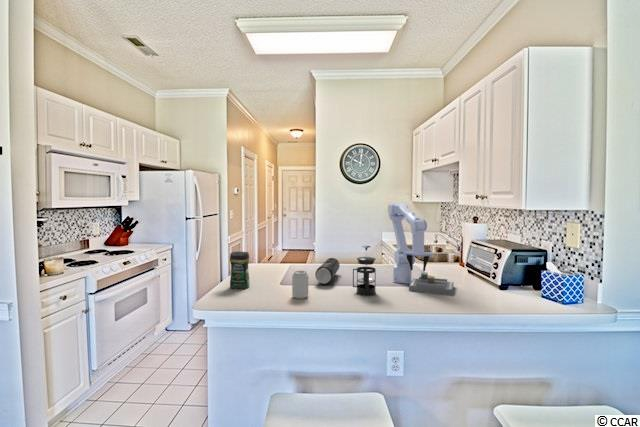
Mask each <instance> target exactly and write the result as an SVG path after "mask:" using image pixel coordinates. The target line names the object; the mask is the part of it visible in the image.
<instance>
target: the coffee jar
mask: <svg viewBox="0 0 640 427" xmlns="http://www.w3.org/2000/svg"><path fill="white" fill-rule="evenodd" d="M229 262H230V278H229V280H230V281H229V287H230V288H231V289H233V288H236V289H237V290H245V289H248V288H249V287H250V282H251V281H250V275H249V262H250V254H249V252H248V251H232V252H231V253H230V254H229ZM244 288H245V289H244Z"/></svg>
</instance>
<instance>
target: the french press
mask: <svg viewBox="0 0 640 427" xmlns="http://www.w3.org/2000/svg"><path fill="white" fill-rule="evenodd" d="M361 247H362V248H365V249H364V250H365V256H360V257H356V260H357V264H360V265H365V266H359V267H357V268H353V269H352V288H356V292H355V293H356V294H357V295H359V296H363V295H365V296H364V297H370V296H375V295H376V293H377V292H376V285H375V284H372V283H376V280H377V279H376V268H375V267H372V266H370V265H373V264H374V263H375V261H376V260H377V258H376V257H371V256H368V252H367V251H368V248H371V246H370V245H362V246H361ZM367 265H368V266H367ZM354 271H356V285H354V284H355V278H354V277H355V276H354V275H355V272H354ZM358 273H360V274H363V277H360V278H358V275H359V274H358ZM370 274H374V278H372V277H371V278H370ZM358 283H360V284H358Z"/></svg>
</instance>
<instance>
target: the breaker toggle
mask: <svg viewBox="0 0 640 427" xmlns="http://www.w3.org/2000/svg"><path fill="white" fill-rule="evenodd" d="M435 278H436V277H435V275H428V283H432V284H435Z"/></svg>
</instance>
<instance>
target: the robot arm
mask: <svg viewBox="0 0 640 427" xmlns="http://www.w3.org/2000/svg"><path fill="white" fill-rule="evenodd" d="M387 213H388V217H389V220H391V222H392V227H393V231H394V232H393V233H394V238H395V241H396V246H397V249H396V250H395V251H394V262H395V264H394V265H393V276H392V277H393V278H392V283H399V284H409V285H410V283H411V282H412V280H413V279H412V271H413V269H414V266H413V265H414V264H415V262H416V257H421V258H422V257H423V258H422V260H423V267H422V272H426V267H427V264H428V261H429V259H430V258H434V252H426V251H425V231H426V230H427V228H428V224H427V221H426V219H424V218H422V219H421V218H420V217H419V216H418V215H417V214H416V213H415V212H411V211H410V209H409V205H408V204H407V203H406V202H404V203H402V202H401V203H400V202H399V203H392V202H391V203H388V206H387ZM404 220H405V221H406V222H407V223H408V225H409V227H410V230H411V232H410V233H411V235H412V237H411V238H412V239H411V240H412V244H411V248H412V249H411V248H410V247H408V244H407V240H406V236H405V231H404V227H403V223H402V222H403V221H404Z"/></svg>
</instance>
